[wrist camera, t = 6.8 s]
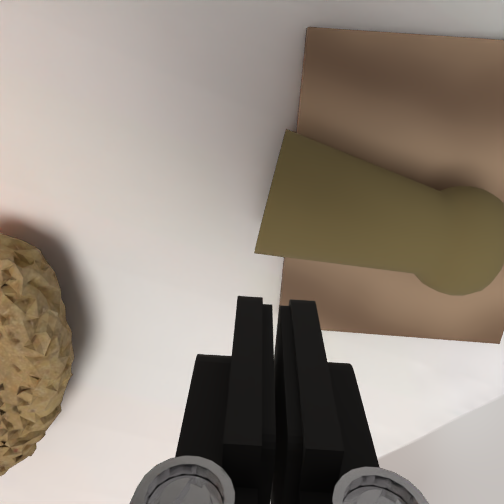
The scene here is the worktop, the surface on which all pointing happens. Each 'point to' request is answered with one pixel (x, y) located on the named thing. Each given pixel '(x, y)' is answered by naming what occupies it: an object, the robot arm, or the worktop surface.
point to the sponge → (29, 349)
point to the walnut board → (403, 165)
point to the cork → (380, 219)
